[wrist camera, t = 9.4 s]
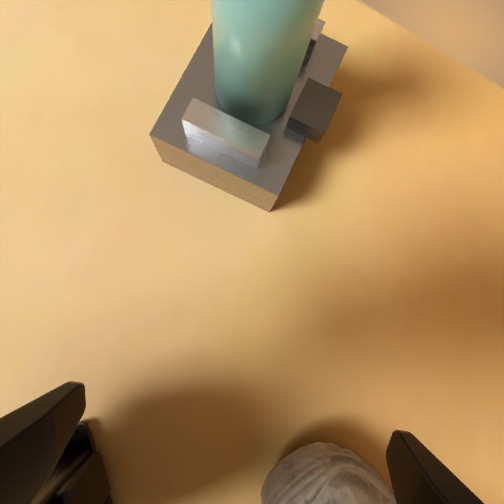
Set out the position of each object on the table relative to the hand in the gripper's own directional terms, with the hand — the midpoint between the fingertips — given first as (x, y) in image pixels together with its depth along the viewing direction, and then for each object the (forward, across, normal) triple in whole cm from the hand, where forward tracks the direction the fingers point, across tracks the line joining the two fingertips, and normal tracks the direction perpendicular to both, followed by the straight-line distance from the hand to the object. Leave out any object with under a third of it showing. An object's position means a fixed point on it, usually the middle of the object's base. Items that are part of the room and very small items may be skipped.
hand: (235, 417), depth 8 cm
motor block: (+19, +2, -10) cm, 21 cm away
